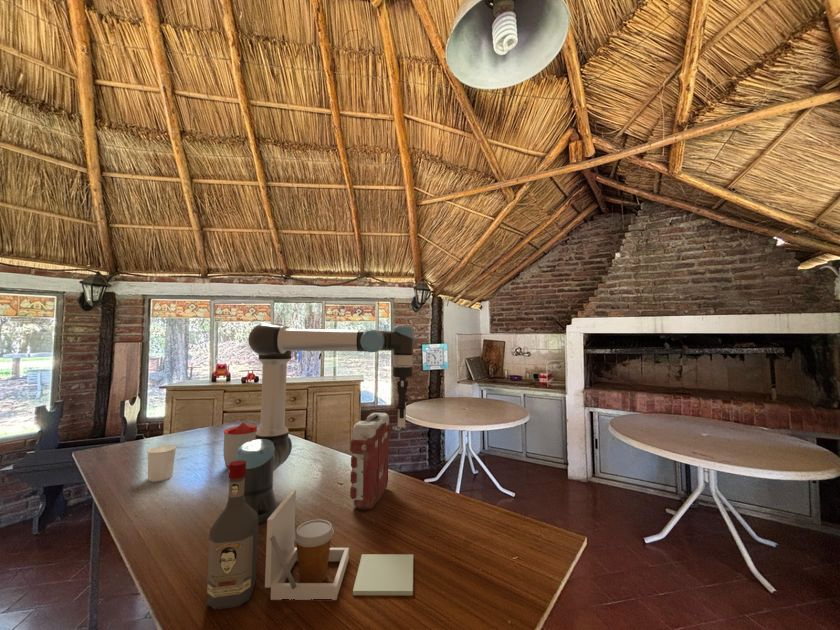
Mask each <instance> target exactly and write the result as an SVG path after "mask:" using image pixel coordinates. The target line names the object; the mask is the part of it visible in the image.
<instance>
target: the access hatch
mask: <svg viewBox="0 0 840 630" xmlns="http://www.w3.org/2000/svg"><path fill="white" fill-rule="evenodd" d="M296 501H297V489H291V490H290V491H289V492H288V494H287V495H286V496H285V497H284V499H282V501H281V502H280V503H279V505H277V508H276V509H275V511H274V512H273V513H272V514H271V516H270V517H269V518H268V519H267V521H266V522H267V523H266V549H265V550H266V551H265V570H264V571H265V575H264V577H265V578H264V588H265V589H267V588H270V600H271V601H282V599H289V600H288V601H298V600H299V601H314V600H313V599H332V600H331V601H337V599H338V596H339V592H340V589H341V586H342V582H343V579H344V576H345V573H346V570H347V566H348V564H349V563H348V562H349V561H350V560H349V558H350V557H349V556H350V547H330V551H329V558H328V562H339V565H338V568H337V571H336V574H335V577H334V579H333V582H332V583H329V582H328V583H327V582H321V583H300V582H296V581H295V578H294V576H293V574H292V572H291V570H292V568H294V565H295V564H296V562H298V556H297V546H296V547H295V539H294V535H295V533H296V506H297V505H296V503H297V502H296ZM287 580H288V582H286V581H287ZM291 599H292V600H291ZM293 599H295V600H293ZM311 599H312V600H311Z"/></svg>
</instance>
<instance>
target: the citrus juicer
mask: <svg viewBox="0 0 840 630" xmlns="http://www.w3.org/2000/svg"><path fill="white" fill-rule="evenodd" d="M259 429H260V428H258V429H257V425H253V424H251V425H250V424H248V425H247V424H246V423H245V422H242V423H240V424H239V425H238V426H233V427H232V426H231V427H229V428H226V429H224V430H223V460H224V464H225V467H226V469H227V470H228V471H229V463H231V462H233V461H236V455H237V450H238V448H239V447H240V446H241V445H243V444H244V443H246V442H251V441H252V440H255V436H256V432H257V431H258V430H259Z"/></svg>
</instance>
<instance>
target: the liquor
mask: <svg viewBox="0 0 840 630" xmlns="http://www.w3.org/2000/svg"><path fill="white" fill-rule="evenodd" d="M245 476H246V461H244V460H238V461H233V462H231V463H229V470H228V479H229V481H228V482H229V483H228V496H227V503H226V506H225V508H224V509H223V510H222V511H221V512H220V514H219V515H218V516H217V518H216V520H215V522H214V523H213V524H212V526H211V528H210V531H209V543H208V558H207V559H208V561H207V562H208V563H207V564H208V565H207V566H208V567H207V582H206V583H207V584H206V604H207V605H208V607H210V606H211V609H213V610H214V609H215V610H214V611H217V610H216V609H218V610H224V609H231V608H237V607H240V606H242V605H244V603H246V602H247V601H249V600H250V599H251V596H252V593H253V590H254V587H255V586H256V585H255V584H256V581H257V565H258V563H257V562H258V542H259V541H258V540H259V539H258V537H259V536H258V535H259V524H258V514H257V512H256V511H255V510H254V509H253V508H252V507H250V506H249V505H248V504H247V503H246V502H245V497H244V482H245Z"/></svg>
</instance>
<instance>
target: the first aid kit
mask: <svg viewBox="0 0 840 630" xmlns="http://www.w3.org/2000/svg"><path fill="white" fill-rule="evenodd" d="M391 436H392V427H391V426H390V416H389V414H388V413H386V412H372V413H370V414H369V415H367V417H366V419H365V420H358V422H356V423H355V424H354V425H353V428H352V439H351V440H350V450H349V451H350V453H352V454H351V458H350V466H351V472H350V482H351V486H350V488H349V489H350V491H349V492H350V493H349V497H350V499H351V500H350V502H351V504H352V506H353V508H356V509H359V510H363V511H364V510H371V509H373V507H374V506H375V505H376V503H378V502H379V500H380V499H381V498H382V497H383V495H384V492H385V491H386V489H387V487H388V482H389V458H390V457H389V454H390V453H389V451H390V449H389V447H390V446H389V445H390V442H389V441H390V437H391Z"/></svg>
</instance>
